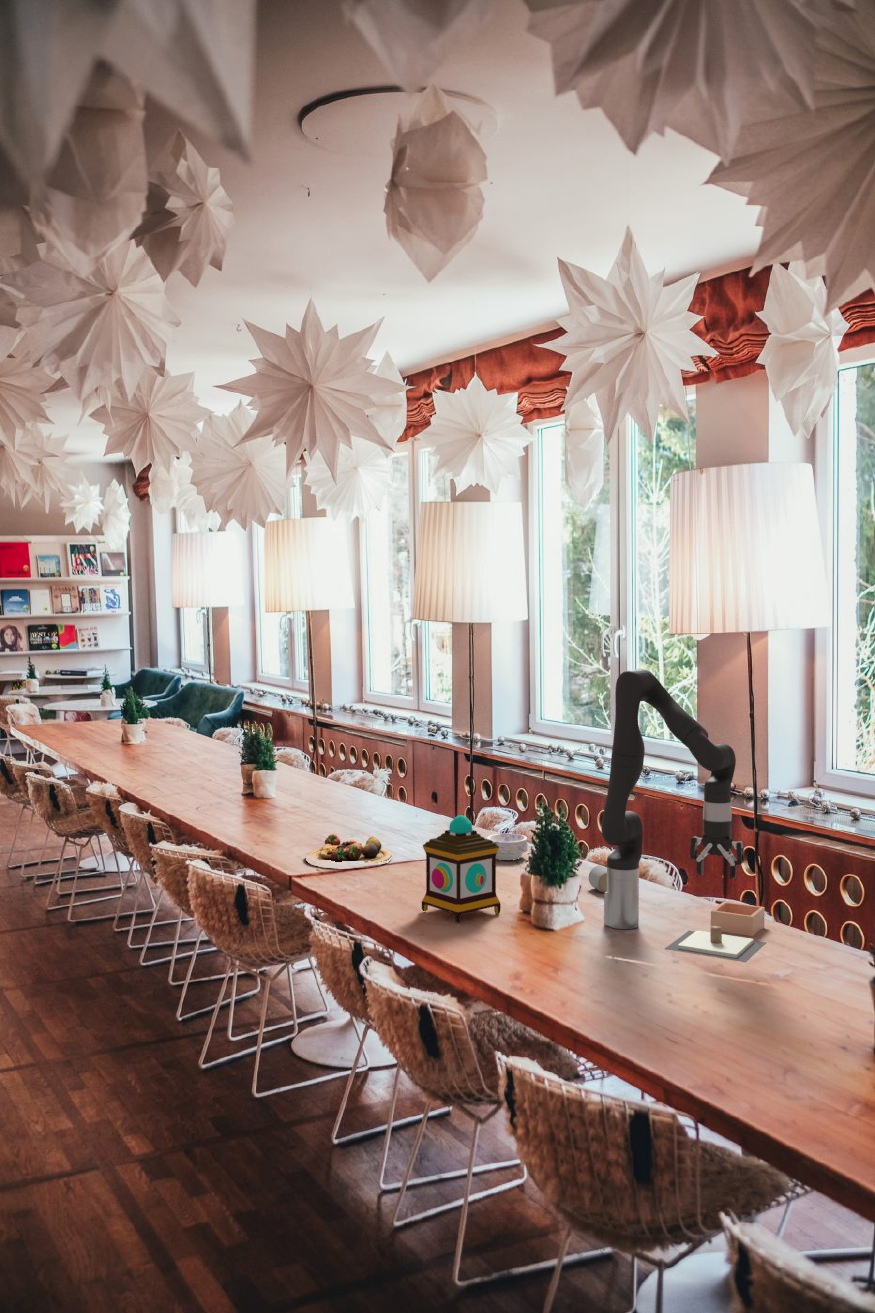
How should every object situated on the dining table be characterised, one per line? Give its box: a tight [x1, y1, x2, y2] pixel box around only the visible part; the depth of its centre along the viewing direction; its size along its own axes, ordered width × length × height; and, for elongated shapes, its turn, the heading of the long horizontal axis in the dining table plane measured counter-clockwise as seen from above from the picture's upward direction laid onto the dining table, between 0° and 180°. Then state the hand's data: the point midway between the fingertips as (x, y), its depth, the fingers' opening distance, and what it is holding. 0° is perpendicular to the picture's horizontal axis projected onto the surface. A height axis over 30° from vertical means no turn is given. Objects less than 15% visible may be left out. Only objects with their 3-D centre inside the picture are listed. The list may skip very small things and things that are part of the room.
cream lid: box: [678, 925, 755, 958], centre depth 306 cm, size 16×16×5 cm
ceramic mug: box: [588, 865, 607, 894], centre depth 368 cm, size 11×8×8 cm
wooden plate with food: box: [308, 833, 393, 863], centre depth 413 cm, size 32×32×8 cm
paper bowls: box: [485, 832, 528, 861], centre depth 415 cm, size 15×15×8 cm
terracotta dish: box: [710, 901, 766, 937], centre depth 323 cm, size 12×12×6 cm
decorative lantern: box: [421, 814, 502, 924], centre depth 340 cm, size 20×20×30 cm
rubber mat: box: [664, 930, 767, 963], centre depth 306 cm, size 22×20×1 cm
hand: (716, 877), depth 305 cm, fingers open, 8 cm apart
